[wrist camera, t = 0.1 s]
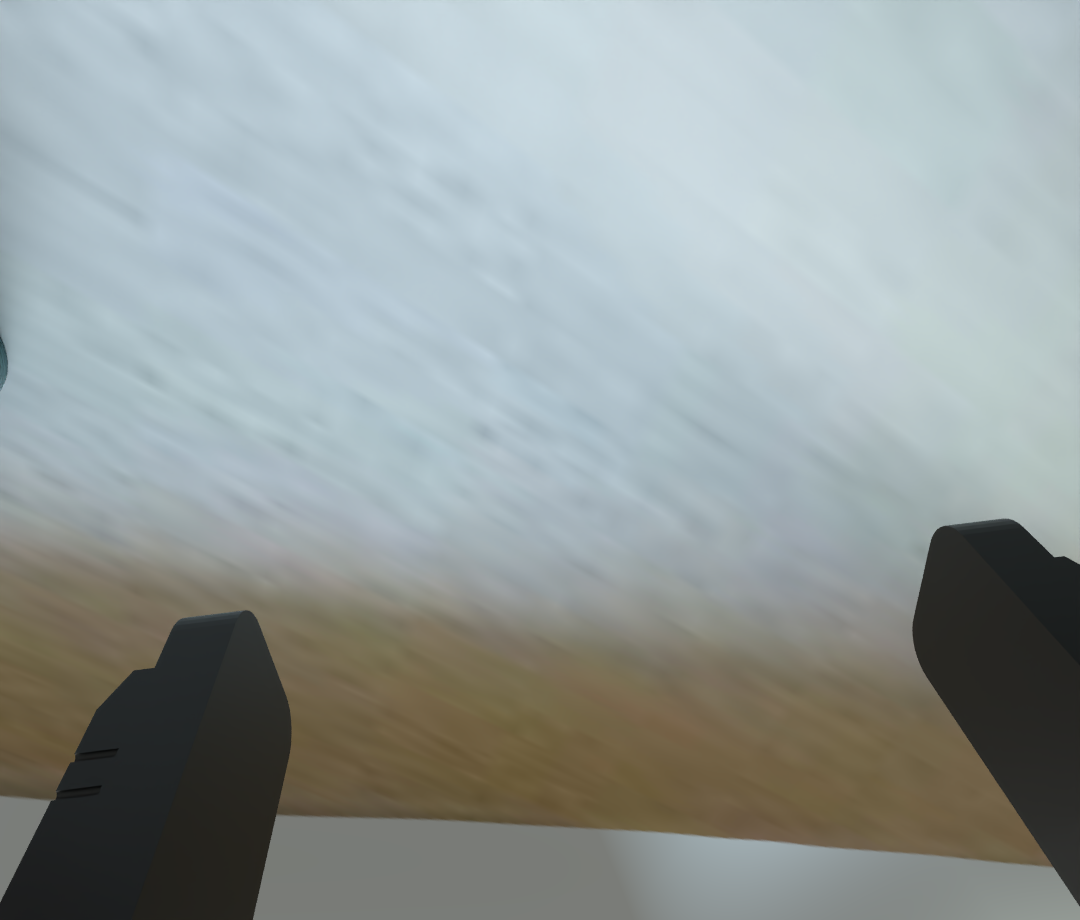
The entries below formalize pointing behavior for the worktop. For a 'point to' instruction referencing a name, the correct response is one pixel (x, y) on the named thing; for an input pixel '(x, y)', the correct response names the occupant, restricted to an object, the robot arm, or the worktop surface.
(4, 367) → the canister
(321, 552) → the worktop surface
